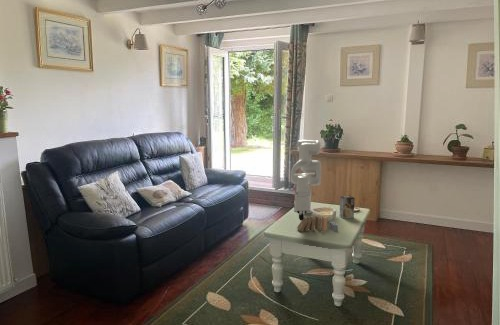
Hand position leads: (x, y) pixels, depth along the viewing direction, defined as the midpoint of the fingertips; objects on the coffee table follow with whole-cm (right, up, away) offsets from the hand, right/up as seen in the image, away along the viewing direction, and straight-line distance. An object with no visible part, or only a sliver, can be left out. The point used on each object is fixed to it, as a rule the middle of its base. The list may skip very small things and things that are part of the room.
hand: (301, 219), depth 245 cm
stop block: (+23, -7, +5) cm, 25 cm away
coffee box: (+39, -3, +31) cm, 50 cm away
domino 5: (+16, -7, +4) cm, 18 cm away
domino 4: (+12, -7, +3) cm, 14 cm away
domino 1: (-1, -7, +1) cm, 7 cm away
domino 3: (+7, -7, +2) cm, 11 cm away
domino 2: (+3, -7, +2) cm, 8 cm away
